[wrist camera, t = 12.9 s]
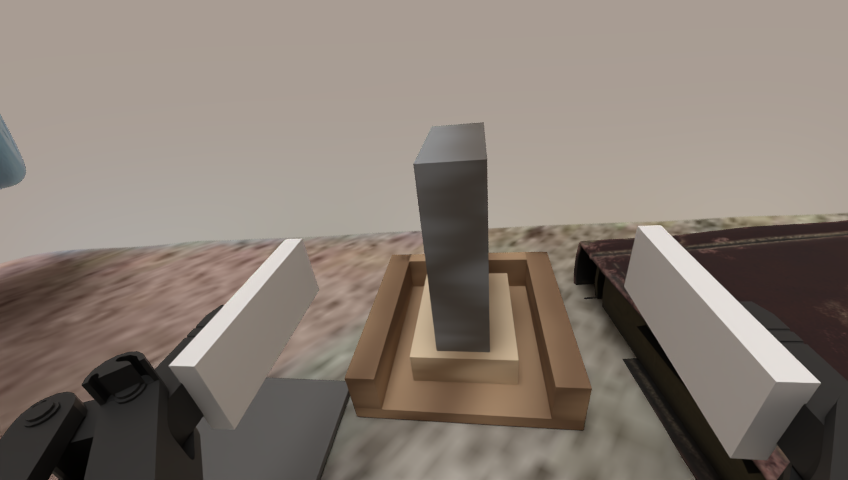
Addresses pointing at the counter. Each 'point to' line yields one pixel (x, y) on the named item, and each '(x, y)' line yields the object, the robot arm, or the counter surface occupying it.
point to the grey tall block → (460, 267)
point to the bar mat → (277, 433)
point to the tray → (473, 402)
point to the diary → (746, 281)
